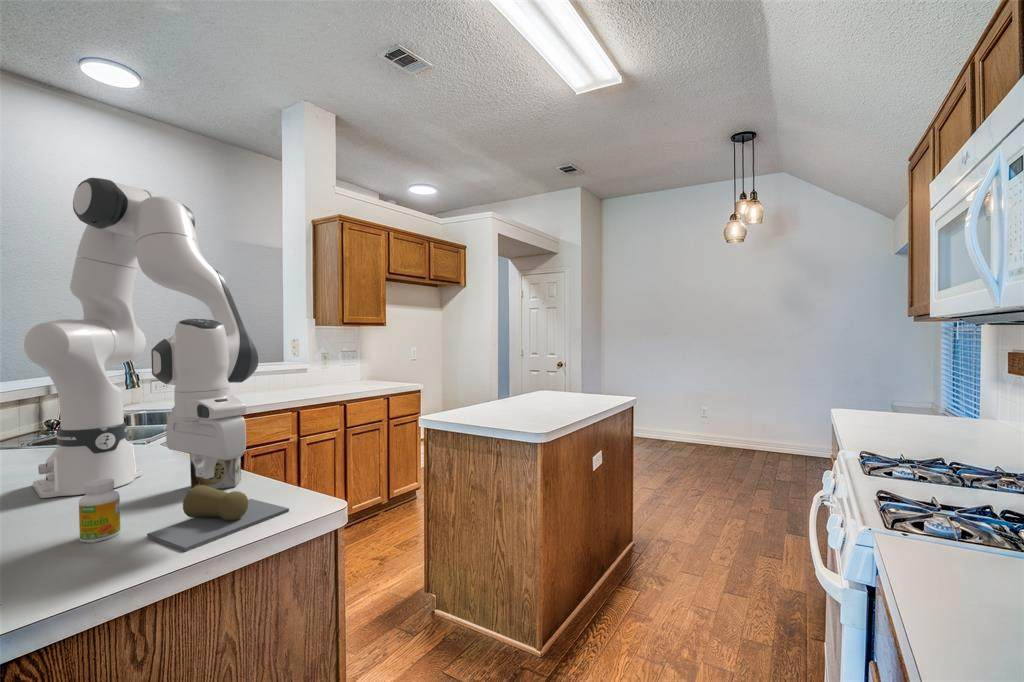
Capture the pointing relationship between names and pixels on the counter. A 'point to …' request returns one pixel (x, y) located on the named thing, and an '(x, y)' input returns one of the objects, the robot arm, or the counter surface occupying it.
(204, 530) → the rubber mat
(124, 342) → the robot arm
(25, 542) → the counter surface
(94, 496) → the supplement bottle
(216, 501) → the cork
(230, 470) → the coffee box
